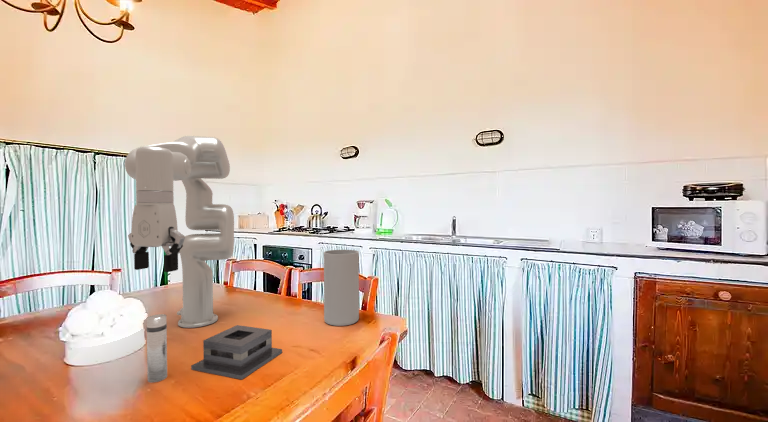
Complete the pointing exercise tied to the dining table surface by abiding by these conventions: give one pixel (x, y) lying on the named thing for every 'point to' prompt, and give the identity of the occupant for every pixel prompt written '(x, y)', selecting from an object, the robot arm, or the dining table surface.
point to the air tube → (156, 348)
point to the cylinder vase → (341, 287)
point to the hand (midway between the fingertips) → (156, 269)
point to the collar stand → (237, 352)
